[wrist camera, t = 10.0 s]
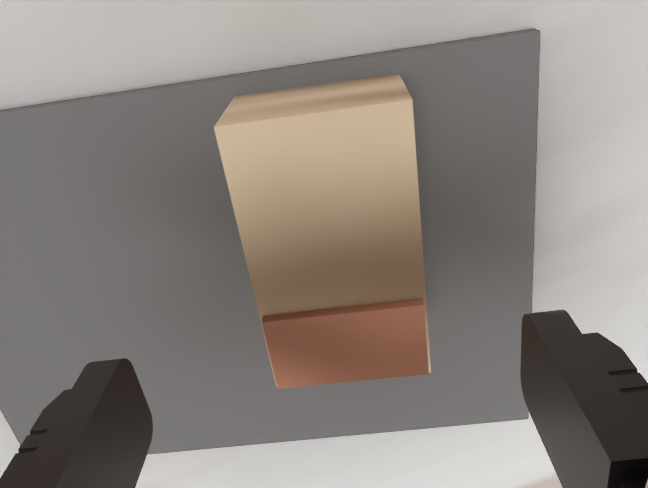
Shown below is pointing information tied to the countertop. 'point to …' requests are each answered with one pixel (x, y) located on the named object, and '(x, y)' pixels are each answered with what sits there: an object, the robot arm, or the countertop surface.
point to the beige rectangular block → (331, 228)
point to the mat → (229, 260)
